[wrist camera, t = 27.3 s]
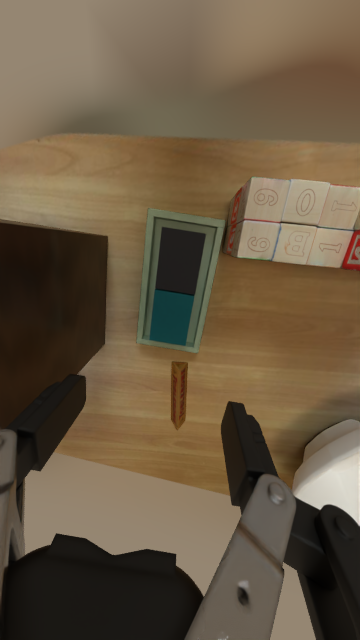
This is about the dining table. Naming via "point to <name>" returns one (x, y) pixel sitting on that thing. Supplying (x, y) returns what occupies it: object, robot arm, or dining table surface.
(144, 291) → the tray
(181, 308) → the pad
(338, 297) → the dining table surface
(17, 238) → the stand
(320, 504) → the bowl
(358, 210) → the stack of blocks
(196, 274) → the pad
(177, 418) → the chocolate bar
